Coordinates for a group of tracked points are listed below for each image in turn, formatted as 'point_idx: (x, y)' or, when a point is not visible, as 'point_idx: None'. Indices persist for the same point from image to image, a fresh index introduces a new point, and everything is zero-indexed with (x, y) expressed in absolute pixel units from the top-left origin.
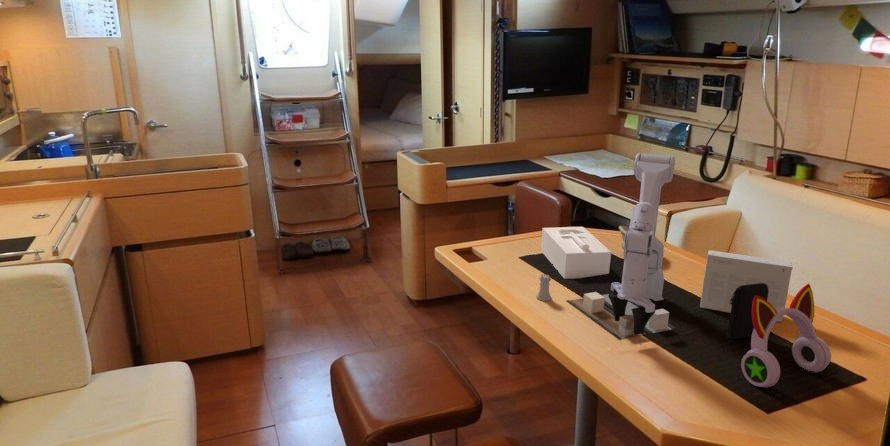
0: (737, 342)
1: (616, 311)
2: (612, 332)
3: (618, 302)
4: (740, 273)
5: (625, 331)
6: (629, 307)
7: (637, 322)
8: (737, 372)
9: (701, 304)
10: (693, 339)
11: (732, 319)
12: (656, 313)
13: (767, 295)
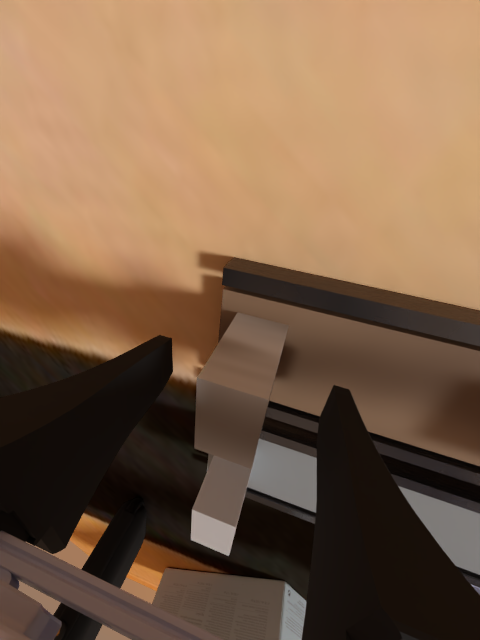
0: (125, 489)
1: (341, 444)
2: (301, 297)
3: (341, 545)
4: None
5: (227, 333)
6: None
7: (72, 377)
8: (12, 389)
9: (282, 591)
10: (163, 458)
11: (98, 555)
12: (203, 518)
13: None
